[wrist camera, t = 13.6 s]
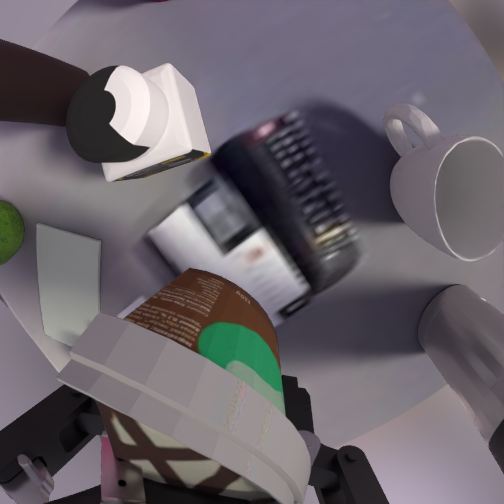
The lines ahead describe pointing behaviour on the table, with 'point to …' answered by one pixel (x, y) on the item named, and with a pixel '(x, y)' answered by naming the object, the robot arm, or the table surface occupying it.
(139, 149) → the medicine bottle
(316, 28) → the table surface
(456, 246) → the mug
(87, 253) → the pad
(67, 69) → the vinegar
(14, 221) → the avocado
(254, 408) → the food container
